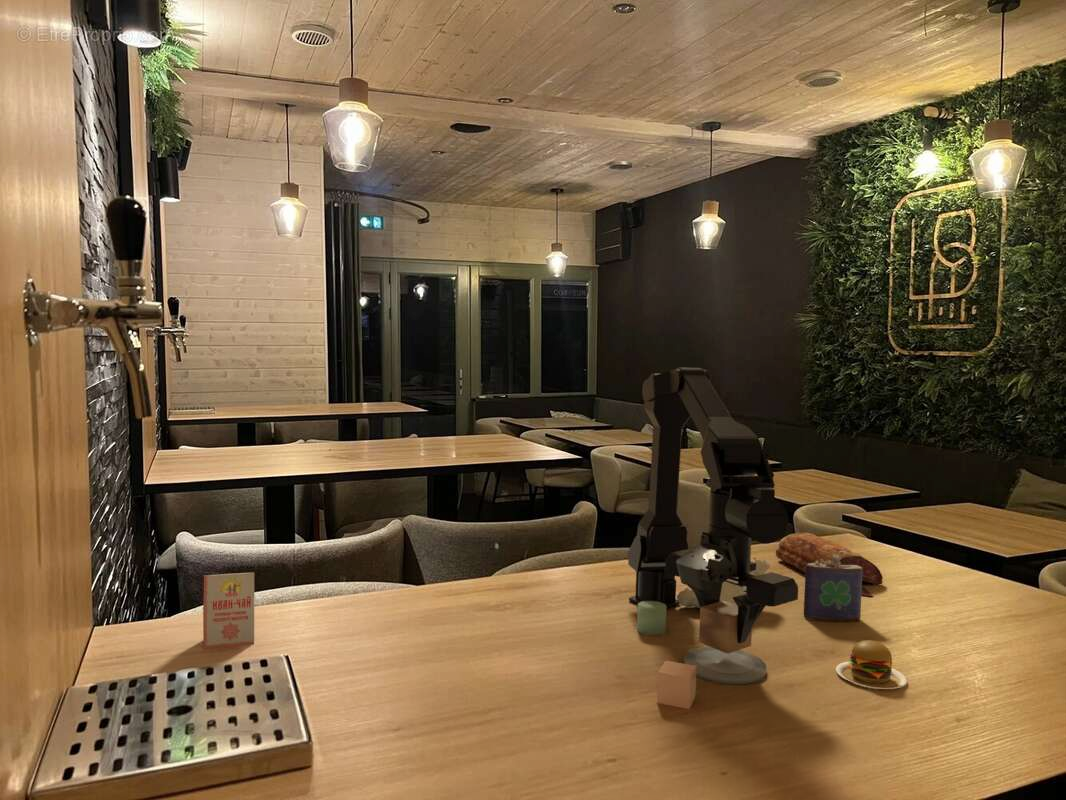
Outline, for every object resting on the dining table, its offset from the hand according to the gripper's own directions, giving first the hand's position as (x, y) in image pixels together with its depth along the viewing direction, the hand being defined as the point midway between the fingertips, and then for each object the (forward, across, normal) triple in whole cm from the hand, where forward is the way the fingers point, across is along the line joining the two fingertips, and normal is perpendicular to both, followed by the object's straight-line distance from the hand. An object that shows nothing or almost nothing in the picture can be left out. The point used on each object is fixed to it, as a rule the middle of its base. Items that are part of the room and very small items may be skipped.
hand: (725, 636), depth 109 cm
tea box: (+5, -47, -53) cm, 71 cm away
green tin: (+4, -16, +2) cm, 17 cm away
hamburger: (+5, +14, +14) cm, 20 cm away
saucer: (+4, 0, 0) cm, 4 cm away
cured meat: (+5, -17, +52) cm, 55 cm away
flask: (+5, -3, +31) cm, 31 cm away
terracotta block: (+4, +3, -13) cm, 14 cm away
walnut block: (+1, 0, 0) cm, 1 cm away
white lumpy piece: (+5, -16, +21) cm, 27 cm away
